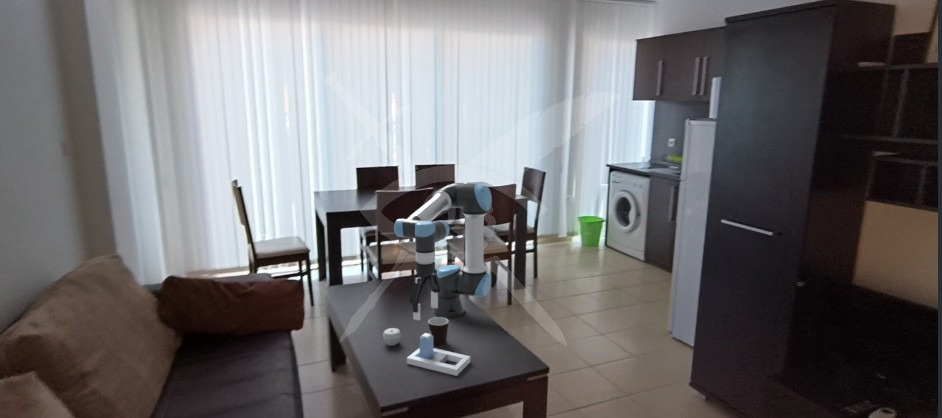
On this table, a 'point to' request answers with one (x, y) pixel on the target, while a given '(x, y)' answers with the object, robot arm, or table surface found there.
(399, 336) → the apple
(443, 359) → the panel
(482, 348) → the table surface
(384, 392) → the table surface
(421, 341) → the plug
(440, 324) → the coffee mug
